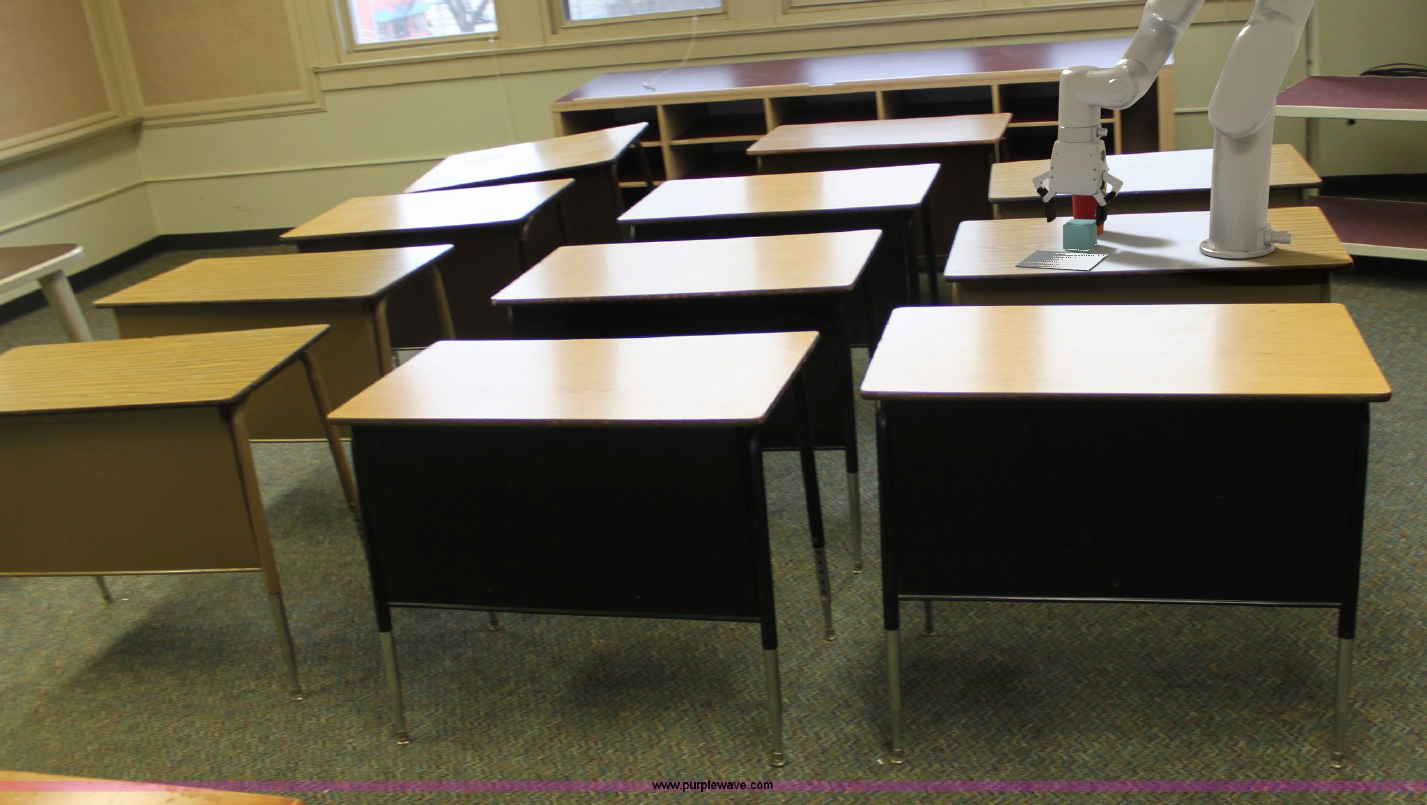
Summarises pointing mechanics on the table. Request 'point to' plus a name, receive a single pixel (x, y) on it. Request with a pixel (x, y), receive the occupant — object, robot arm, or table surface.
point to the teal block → (1079, 234)
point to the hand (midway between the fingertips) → (1075, 222)
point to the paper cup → (1086, 208)
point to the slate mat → (1043, 258)
